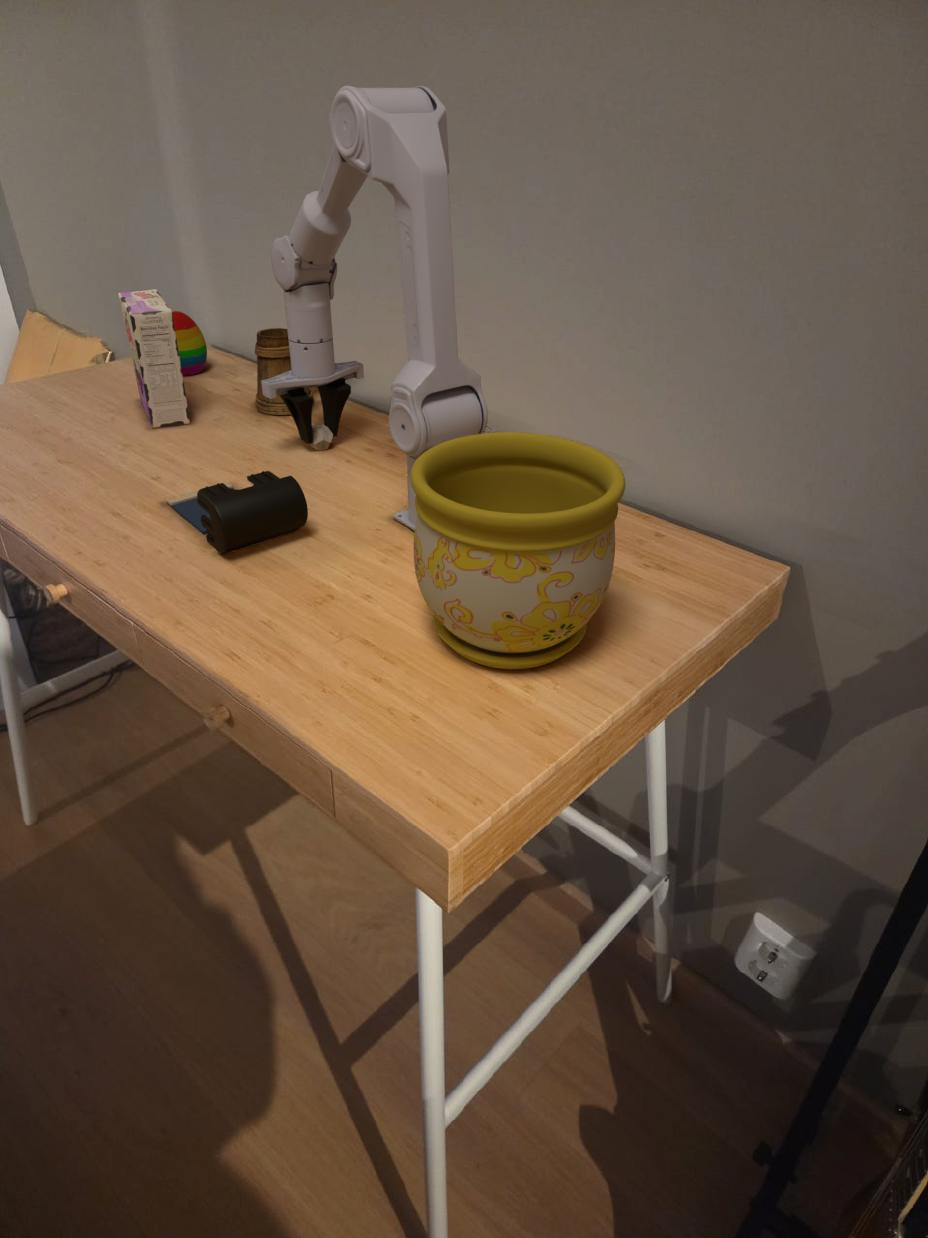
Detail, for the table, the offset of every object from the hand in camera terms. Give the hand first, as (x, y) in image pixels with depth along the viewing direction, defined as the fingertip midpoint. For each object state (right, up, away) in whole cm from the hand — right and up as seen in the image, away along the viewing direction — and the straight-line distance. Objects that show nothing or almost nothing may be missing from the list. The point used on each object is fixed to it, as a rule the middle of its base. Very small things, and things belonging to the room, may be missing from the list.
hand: (319, 438), depth 115 cm
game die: (0, -1, +1) cm, 2 cm away
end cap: (-3, -16, -22) cm, 28 cm away
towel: (-10, -12, -16) cm, 22 cm away
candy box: (-26, +7, +12) cm, 29 cm away
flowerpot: (+24, -26, -36) cm, 51 cm away
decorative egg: (-28, +18, +29) cm, 44 cm away
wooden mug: (-6, +9, +16) cm, 19 cm away
